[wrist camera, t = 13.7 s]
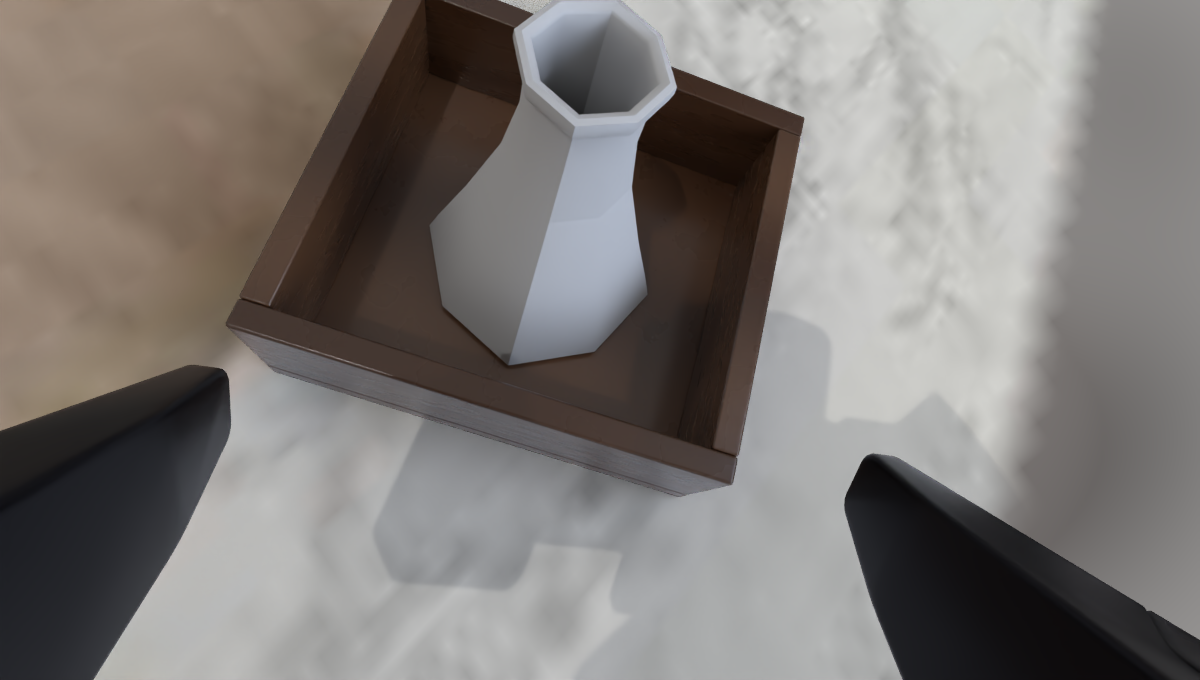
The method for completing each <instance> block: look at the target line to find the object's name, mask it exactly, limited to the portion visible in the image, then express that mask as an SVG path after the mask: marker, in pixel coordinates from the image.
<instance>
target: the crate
mask: <svg viewBox="0 0 1200 680" xmlns="http://www.w3.org/2000/svg"><path fill="white" fill-rule="evenodd" d="M532 15H534V14H533V13H530V12H527V11H525V10H522V9H519V8H517V7H514V6H512V5H509V4H506V3H504V2H501V1H499V0H392V2H391V4H390V6H389V8H388V10H387V12H386V14H385V16H384V17H383V19H382V21H381V23H380V25H379V27H378V29H377V31H376V33H375V35H374V37H373V39H372V41H371V43H370V44H369V46H368V48H367V50H366V52H365V54H364V56H363V58H362V60H361V62H360V64H359V66H358V68H357V70H356V72H355V73H354V75H353V77H352V79H351V81H350V83H349V85H348V87H347V89H346V91H345V93H344V95H343V97H342V99H341V100H340V102H339V104H338V106H337V108H336V110H335V112H334V114H333V116H332V118H331V120H330V122H329V124H328V126H327V127H326V129H325V131H324V133H323V135H322V137H321V139H320V141H319V143H318V145H317V147H316V149H315V151H314V153H313V155H312V156H311V158H310V160H309V162H308V164H307V166H306V168H305V170H304V172H303V174H302V176H301V178H300V180H299V182H298V183H297V185H296V187H295V189H294V191H293V193H292V195H291V197H290V199H289V201H288V203H287V205H286V207H285V209H284V211H283V212H282V214H281V216H280V218H279V220H278V222H277V224H276V226H275V228H274V230H273V232H272V234H271V236H270V238H269V239H268V241H267V243H266V245H265V247H264V249H263V251H262V253H261V255H260V257H259V259H258V261H257V263H256V265H255V266H254V268H253V270H252V272H251V274H250V276H249V278H248V280H247V282H246V284H245V286H244V288H243V290H242V292H241V294H240V298H241V299H239V300H238V301H237V302H236V304H235V306H234V308H233V310H232V312H231V314H230V316H229V318H228V320H227V322H226V326H227V327H228V328H229V329H230V330H231V331H232V332H233V333H234V334H235V335H236V336H237V337H238V338H239V339H240V340H242V341H243V342H244V343H245V344H246V345H247V346H248V347H249V348H250V349H251V350H252V351H253V352H254V353H255V354H256V355H258V356H259V357H260V358H261V359H262V360H263V361H264V362H265V363H266V364H267V365H268V366H269V367H270V368H271V369H272V370H273V371H275V372H277V373H281V374H284V375H287V376H290V377H294V378H297V379H300V380H303V381H306V382H310V383H313V384H316V385H319V386H323V387H326V388H329V389H332V390H336V391H339V392H342V393H345V394H348V395H352V396H355V397H358V398H361V399H365V400H368V401H371V402H374V403H378V404H381V405H384V406H387V407H390V408H394V409H397V410H400V411H403V412H407V413H410V414H413V415H416V416H420V417H423V418H426V419H429V420H432V421H436V422H439V423H442V424H445V425H449V426H452V427H455V428H458V429H462V430H465V431H468V432H471V433H475V434H478V435H481V436H484V437H487V438H491V439H494V440H497V441H500V442H504V443H507V444H510V445H513V446H517V447H520V448H523V449H526V450H529V451H533V452H536V453H539V454H542V455H546V456H549V457H552V458H555V459H559V460H562V461H565V462H568V463H571V464H575V465H578V466H581V467H584V468H588V469H591V470H594V471H597V472H601V473H604V474H607V475H610V476H613V477H617V478H620V479H623V480H626V481H630V482H633V483H636V484H639V485H643V486H646V487H649V488H652V489H656V490H659V491H662V492H665V493H668V494H672V495H675V496H678V497H680V496H685V495H689V494H693V493H698V492H702V491H706V490H711V489H715V488H719V487H724V486H728V485H732V483H733V480H734V475H735V470H736V465H737V458H736V457H737V456H738V455H739V451H740V446H741V440H742V435H743V430H744V425H745V420H746V415H747V410H748V404H749V399H750V394H751V389H752V384H753V379H754V373H755V368H756V363H757V358H758V353H759V348H760V343H761V337H762V332H763V327H764V322H765V317H766V312H767V307H768V301H769V296H770V291H771V286H772V281H773V276H774V271H775V265H776V260H777V255H778V250H779V245H780V240H781V234H782V229H783V224H784V219H785V214H786V209H787V204H788V198H789V193H790V188H791V183H792V178H793V173H794V168H795V162H796V157H797V152H798V147H799V142H800V136H801V133H802V128H803V123H804V117H801V116H799V115H796V114H794V113H791V112H788V111H786V110H783V109H781V108H778V107H775V106H773V105H770V104H768V103H765V102H762V101H760V100H757V99H754V98H752V97H749V96H747V95H744V94H741V93H739V92H736V91H734V90H731V89H728V88H726V87H723V86H721V85H718V84H715V83H713V82H710V81H707V80H705V79H702V78H700V77H697V76H694V75H692V74H689V73H687V72H684V71H681V70H679V69H676V68H674V67H671V68H672V72H673V75H674V79H675V82H676V86H677V88H676V91H675V94H674V95H673V96H672V97H671V98H670V100H669V101H668V102H667V103H666V104H664V105H663V106H662V107H661V108H660V109H659V110H658V111H657V112H656V113H655V114H654V115H652V116H651V117H650V118H649V119H648V120H647V121H646V122H645V125H644V127H643V130H642V132H641V135H640V137H639V139H638V142H637V150H636V158H635V166H634V173H633V181H632V193H633V201H634V209H635V217H636V226H637V234H638V242H639V247H640V252H641V258H642V263H643V268H644V273H645V279H646V285H647V293H648V295H647V296H646V297H645V298H644V299H643V300H642V301H641V302H640V303H639V304H638V305H637V307H636V308H635V309H634V310H633V311H632V312H631V313H630V314H629V315H628V316H627V317H626V318H625V319H624V321H623V322H622V323H621V324H620V325H619V326H618V327H617V328H616V329H615V330H614V331H613V332H612V333H611V335H610V336H609V337H608V338H607V339H606V340H605V341H604V342H603V343H602V344H601V345H600V346H599V347H598V349H597V350H596V351H595V352H590V353H584V354H577V355H571V356H565V357H558V358H552V359H546V360H539V361H533V362H527V363H520V364H514V365H507V364H506V363H505V362H504V361H503V360H502V359H500V358H499V357H498V356H497V355H496V354H495V353H494V352H493V351H492V350H491V349H489V348H488V347H487V346H486V345H485V344H484V343H483V342H482V341H481V340H480V339H478V338H477V337H476V336H475V335H474V334H473V333H472V332H471V331H470V330H469V329H467V328H466V327H465V326H464V325H463V324H462V323H461V322H460V321H459V320H458V319H456V318H455V317H454V316H453V315H452V314H451V313H450V312H449V311H448V310H447V309H445V308H444V307H443V306H442V301H441V294H440V288H439V282H438V276H437V270H436V263H435V257H434V251H433V245H432V238H431V232H430V226H429V225H430V224H431V223H432V222H433V220H434V219H435V218H436V217H437V216H438V214H439V213H440V212H441V211H442V210H443V209H444V208H445V207H446V206H447V205H448V204H449V203H450V202H451V201H452V200H453V199H454V198H455V197H456V196H457V195H458V193H459V192H460V191H461V190H462V189H463V188H464V187H465V186H466V185H467V184H468V183H469V181H470V180H471V179H472V178H473V176H474V175H475V174H476V173H477V172H478V170H479V169H480V168H481V167H482V165H483V164H484V163H485V162H486V161H487V159H488V158H489V157H490V156H491V155H492V153H493V152H494V151H495V150H496V148H497V147H498V146H499V145H500V144H501V142H502V140H503V137H504V135H505V133H506V131H507V128H508V126H509V124H510V122H511V119H512V117H513V115H514V113H515V110H516V108H517V106H518V104H519V102H520V95H521V89H522V79H521V75H520V70H519V66H518V61H517V56H516V52H515V47H514V42H513V33H514V29H515V28H516V27H518V26H519V25H520V24H522V23H523V22H524V21H526V20H527V19H528V18H530V17H531V16H532Z"/></svg>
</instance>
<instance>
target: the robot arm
mask: <svg viewBox="0 0 1200 680" xmlns="http://www.w3.org/2000/svg"><path fill="white" fill-rule="evenodd" d="M230 429H231V412H230V393H229V379H228V376H227V373H226V372H225V371H224V370H223V369H220V368H214V367H207V366H199V365H188V366H184V367H182V368H179V369H176V370H173V371H170V372H167V373H165V374H162V375H159V376H156V377H153V378H150V379H147V380H145V381H142V382H139V383H136V384H133V385H130V386H127V387H125V388H122V389H119V390H116V391H113V392H110V393H107V394H105V395H102V396H99V397H96V398H93V399H90V400H87V401H85V402H82V403H79V404H76V405H73V406H70V407H68V408H65V409H62V410H59V411H56V412H53V413H50V414H48V415H45V416H42V417H39V418H36V419H33V420H30V421H28V422H25V423H22V424H19V425H16V426H13V427H10V428H8V429H5V430H2V431H0V680H94V678H95V676H96V675H97V673H98V672H99V670H100V668H101V667H102V665H103V664H104V662H105V660H106V659H107V657H108V656H109V654H110V652H111V651H112V649H113V648H114V646H115V644H116V643H117V641H118V640H119V638H120V636H121V635H122V633H123V632H124V630H125V628H126V627H127V625H128V624H129V622H130V620H131V619H132V617H133V616H134V614H135V612H136V611H137V609H138V608H139V606H140V604H141V603H142V601H143V600H144V598H145V596H146V595H147V593H148V592H149V590H150V589H151V587H152V585H153V584H154V582H155V581H156V579H157V577H158V576H159V574H160V573H161V571H162V569H163V568H164V566H165V565H166V563H167V561H168V560H169V558H170V556H171V555H172V553H173V551H174V550H175V548H176V546H177V545H178V543H179V541H180V539H181V537H182V535H183V533H184V531H185V529H186V527H187V525H188V523H189V521H190V519H191V517H192V515H193V513H194V511H195V508H196V506H197V504H198V502H199V500H200V498H201V496H202V494H203V491H204V489H205V487H206V485H207V483H208V481H209V479H210V477H211V474H212V472H213V470H214V468H215V466H216V464H217V462H218V460H219V457H220V455H221V453H222V451H223V449H224V447H225V445H226V442H227V440H228V437H229V434H230ZM844 507H845V514H846V517H847V520H848V524H849V527H850V531H851V534H852V537H853V541H854V544H855V548H856V551H857V555H858V558H859V561H860V565H861V568H862V572H863V575H864V578H865V582H866V585H867V589H868V592H869V595H870V598H871V601H872V604H873V607H874V609H875V612H876V615H877V617H878V620H879V622H880V625H881V627H882V630H883V632H884V635H885V637H886V640H887V642H888V645H889V647H890V650H891V652H892V654H893V657H894V659H895V662H896V664H897V667H898V669H899V672H900V674H901V677H902V679H903V680H1200V640H1199V639H1197V638H1195V637H1194V636H1192V635H1190V634H1189V633H1187V632H1185V631H1183V630H1182V629H1180V628H1179V627H1177V626H1175V625H1173V624H1172V623H1170V622H1169V621H1167V620H1165V619H1164V618H1162V617H1160V616H1159V615H1157V614H1155V613H1154V612H1152V611H1146V609H1145V608H1144V607H1143V606H1142V605H1140V604H1139V603H1137V602H1135V601H1134V600H1132V599H1130V598H1129V597H1127V596H1126V595H1124V594H1122V593H1120V592H1119V591H1117V590H1116V589H1114V588H1112V587H1110V586H1109V585H1107V584H1106V583H1104V582H1102V581H1101V580H1099V579H1097V578H1096V577H1094V576H1092V575H1091V574H1089V573H1087V572H1086V571H1084V570H1083V569H1081V568H1079V567H1077V566H1076V565H1074V564H1073V563H1071V562H1069V561H1068V560H1066V559H1064V558H1063V557H1061V556H1059V555H1058V554H1056V553H1055V552H1053V551H1051V550H1049V549H1048V548H1046V547H1045V546H1043V545H1041V544H1039V543H1038V542H1036V541H1035V540H1033V539H1031V538H1029V537H1028V536H1026V535H1025V534H1023V533H1021V532H1020V531H1018V530H1016V529H1015V528H1013V527H1012V526H1010V525H1008V524H1007V523H1005V522H1003V521H1002V520H1000V519H998V518H997V517H995V516H993V515H992V514H990V513H988V512H987V511H985V510H983V509H982V508H980V507H978V506H977V505H975V504H974V503H972V502H970V501H969V500H967V499H965V498H964V497H962V496H960V495H959V494H957V493H955V492H954V491H952V490H950V489H949V488H947V487H945V486H944V485H942V484H940V483H939V482H937V481H936V480H934V479H932V478H931V477H929V476H927V475H926V474H924V473H922V472H921V471H919V470H917V469H916V468H914V467H912V466H911V465H909V464H907V463H906V462H904V461H902V460H901V459H899V458H897V457H894V456H889V455H881V454H870V455H867V456H866V457H865V458H864V459H863V461H862V462H861V464H860V466H859V469H858V471H857V473H856V475H855V477H854V479H853V481H852V483H851V485H850V487H849V490H848V492H847V494H846V497H845V504H844Z"/></svg>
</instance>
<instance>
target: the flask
mask: <svg viewBox="0 0 1200 680" xmlns="http://www.w3.org/2000/svg"><path fill="white" fill-rule="evenodd" d="M513 42H514V47H515V52H516V56H517V61H518V66H519V70H520V75H521V79H522V89H521V95H520V102H519V104H518V106H517V108H516V110H515V113H514V115H513V117H512V119H511V122H510V124H509V126H508V128H507V131H506V133H505V135H504V137H503V140H502V142H501V144H500V145H499V146H498V147H497V148H496V150H495V151H494V152H493V153H492V155H491V156H490V157H489V158H488V159H487V161H486V162H485V163H484V164H483V165H482V167H481V168H480V169H479V170H478V172H477V173H476V174H475V175H474V176H473V178H472V179H471V180H470V181H469V183H468V184H467V185H466V186H465V187H464V188H463V189H462V190H461V191H460V192H459V193H458V195H457V196H456V197H455V198H454V199H453V200H452V201H451V202H450V203H449V204H448V205H447V206H446V207H445V208H444V209H443V210H442V211H441V212H440V213H439V214H438V216H437V217H436V218H435V219H434V220H433V222H432V223H431V224H430V225H429V226H430V232H431V238H432V245H433V251H434V257H435V263H436V270H437V276H438V282H439V288H440V294H441V301H442V306H443V307H444V308H445V309H447V310H448V311H449V312H450V313H451V314H452V315H453V316H454V317H455V318H456V319H458V320H459V321H460V322H461V323H462V324H463V325H464V326H465V327H466V328H467V329H469V330H470V331H471V332H472V333H473V334H474V335H475V336H476V337H477V338H478V339H480V340H481V341H482V342H483V343H484V344H485V345H486V346H487V347H488V348H489V349H491V350H492V351H493V352H494V353H495V354H496V355H497V356H498V357H499V358H500V359H502V360H503V361H504V362H505V363H506V364H507V365H514V364H520V363H527V362H533V361H539V360H546V359H552V358H558V357H565V356H571V355H577V354H584V353H590V352H595V351H596V350H597V349H598V347H599V346H600V345H601V344H602V343H603V342H604V341H605V340H606V339H607V338H608V337H609V336H610V335H611V333H612V332H613V331H614V330H615V329H616V328H617V327H618V326H619V325H620V324H621V323H622V322H623V321H624V319H625V318H626V317H627V316H628V315H629V314H630V313H631V312H632V311H633V310H634V309H635V308H636V307H637V305H638V304H639V303H640V302H641V301H642V300H643V299H644V298H645V297H646V296H647V295H648V293H647V285H646V279H645V273H644V268H643V263H642V258H641V252H640V247H639V242H638V234H637V226H636V217H635V209H634V201H633V193H632V181H633V173H634V166H635V158H636V150H637V142H638V139H639V137H640V135H641V132H642V130H643V127H644V125H645V122H646V121H647V120H648V119H649V118H650V117H651V116H652V115H654V114H655V113H656V112H657V111H658V110H659V109H660V108H661V107H662V106H663V105H664V104H666V103H667V102H668V101H669V100H670V98H671V97H672V96H673V95H674V94H675V91H676V88H677V86H676V82H675V79H674V75H673V72H672V68H671V65H670V61H669V58H668V54H667V51H666V47H665V44H664V40H663V37H662V35H661V34H660V33H659V32H657V31H656V30H655V29H654V28H653V27H652V26H650V25H649V24H648V23H647V22H646V21H645V20H643V19H642V18H641V17H640V16H639V15H638V14H636V13H635V12H634V11H633V10H632V9H631V8H629V7H628V6H627V5H626V4H625V3H624V2H622V1H621V0H552V1H551V2H550V3H548V4H547V5H546V6H544V7H543V8H542V9H540V10H539V11H538V12H536V13H535V14H534V15H532V16H531V17H530V18H528V19H527V20H526V21H524V22H523V23H522V24H520V25H519V26H518V27H516V28H515V29H514V33H513Z"/></svg>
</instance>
